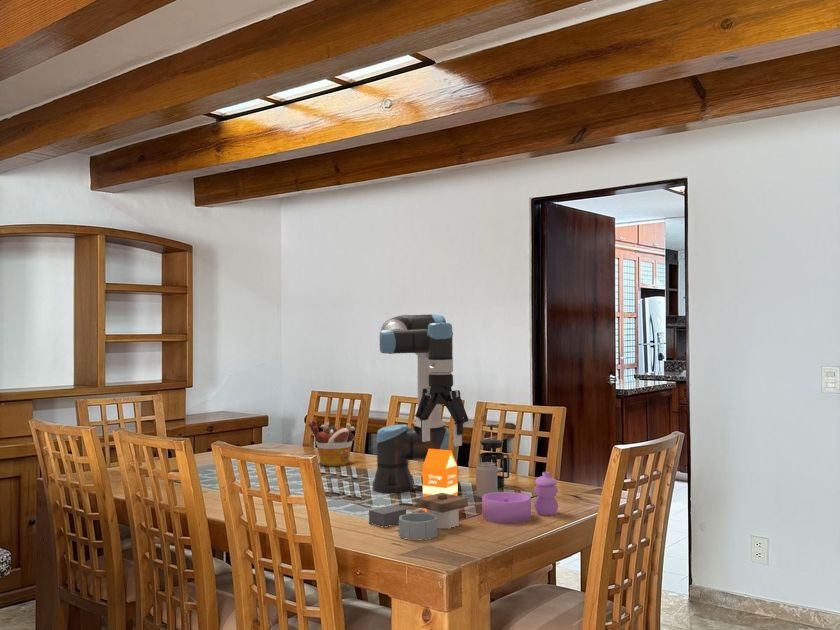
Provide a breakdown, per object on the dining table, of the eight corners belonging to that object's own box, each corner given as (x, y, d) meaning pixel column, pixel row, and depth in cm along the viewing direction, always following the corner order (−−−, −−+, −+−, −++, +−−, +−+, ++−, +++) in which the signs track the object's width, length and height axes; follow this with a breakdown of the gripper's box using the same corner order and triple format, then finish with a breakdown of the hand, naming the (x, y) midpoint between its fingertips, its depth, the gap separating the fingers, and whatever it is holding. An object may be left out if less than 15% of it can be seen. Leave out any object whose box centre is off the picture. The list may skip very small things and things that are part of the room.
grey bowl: (391, 535, 224) (391, 517, 224) (419, 527, 232) (419, 511, 232) (417, 542, 216) (417, 524, 216) (445, 534, 224) (445, 517, 224)
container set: (492, 525, 234) (492, 481, 234) (475, 513, 249) (474, 472, 249) (568, 518, 241) (567, 476, 241) (546, 507, 256) (546, 467, 256)
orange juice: (446, 515, 247) (445, 452, 247) (422, 511, 252) (421, 450, 252) (458, 509, 254) (457, 448, 254) (435, 506, 258) (434, 446, 259)
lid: (416, 506, 235) (416, 495, 235) (442, 500, 243) (442, 489, 243) (442, 512, 227) (442, 500, 227) (468, 506, 235) (467, 494, 235)
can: (496, 500, 267) (496, 465, 267) (475, 499, 268) (474, 464, 269) (498, 495, 274) (498, 461, 274) (477, 494, 276) (477, 461, 276)
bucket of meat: (351, 459, 352) (351, 416, 352) (359, 466, 336) (358, 420, 336) (307, 462, 346) (307, 418, 346) (313, 469, 330) (312, 422, 331)
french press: (480, 489, 285) (480, 426, 285) (475, 484, 294) (474, 423, 294) (512, 488, 287) (511, 425, 287) (505, 482, 296) (504, 422, 296)
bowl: (420, 524, 235) (420, 506, 235) (442, 519, 242) (442, 501, 242) (442, 530, 228) (442, 511, 228) (465, 524, 235) (464, 506, 235)
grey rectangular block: (369, 523, 238) (368, 510, 238) (391, 518, 244) (390, 505, 244) (384, 527, 233) (383, 514, 233) (406, 521, 239) (405, 508, 239)
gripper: (404, 372, 242) (404, 440, 242) (462, 375, 224) (463, 449, 224) (421, 371, 247) (422, 438, 247) (479, 374, 229) (480, 446, 229)
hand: (441, 443), depth 235 cm, fingers open, 13 cm apart
